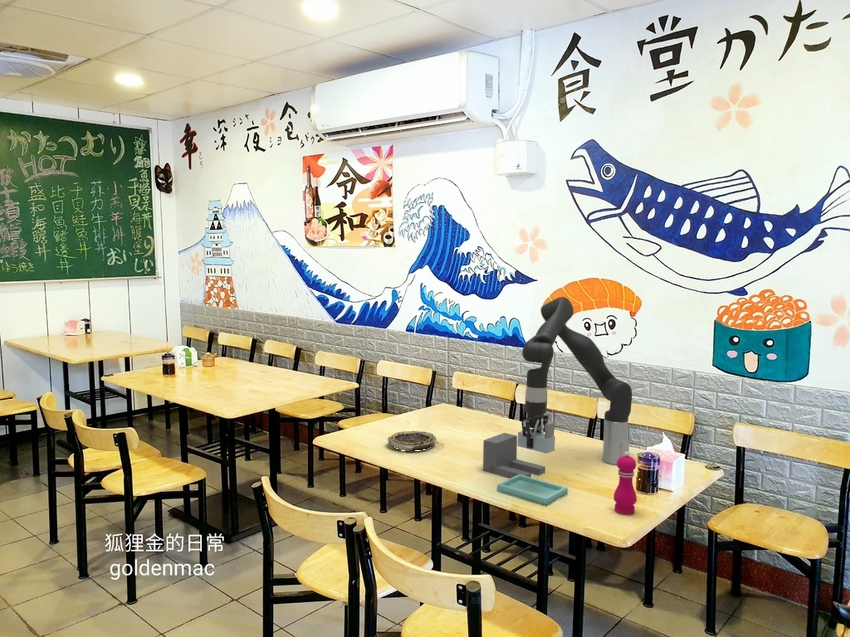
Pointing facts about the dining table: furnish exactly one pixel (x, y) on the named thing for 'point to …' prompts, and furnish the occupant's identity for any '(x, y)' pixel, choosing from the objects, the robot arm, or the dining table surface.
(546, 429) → the grey block with peg
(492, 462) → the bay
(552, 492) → the tray
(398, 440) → the pie
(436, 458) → the dining table surface
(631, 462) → the pepper mill
